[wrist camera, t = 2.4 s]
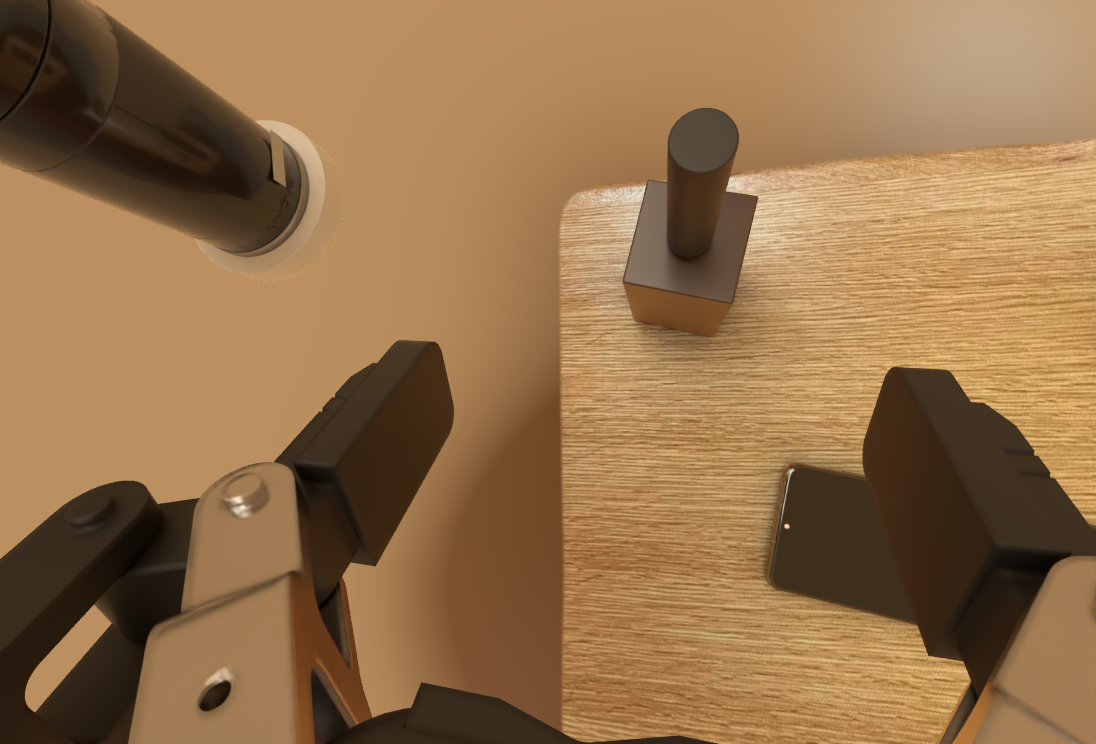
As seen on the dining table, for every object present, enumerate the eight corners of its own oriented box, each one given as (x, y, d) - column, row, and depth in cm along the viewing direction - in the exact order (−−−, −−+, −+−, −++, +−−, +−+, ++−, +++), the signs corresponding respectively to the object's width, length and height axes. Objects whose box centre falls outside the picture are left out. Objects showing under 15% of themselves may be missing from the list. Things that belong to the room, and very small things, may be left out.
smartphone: (1093, 672, 27) (764, 587, 31) (1077, 662, 28) (760, 581, 32) (1116, 528, 28) (787, 459, 31) (1099, 524, 29) (782, 458, 32)
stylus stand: (633, 320, 35) (622, 282, 25) (652, 245, 35) (647, 178, 25) (712, 337, 34) (732, 304, 24) (731, 260, 34) (758, 195, 24)
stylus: (659, 252, 25) (657, 160, 16) (677, 212, 25) (684, 98, 16) (701, 267, 24) (722, 181, 15) (719, 227, 24) (750, 118, 15)
